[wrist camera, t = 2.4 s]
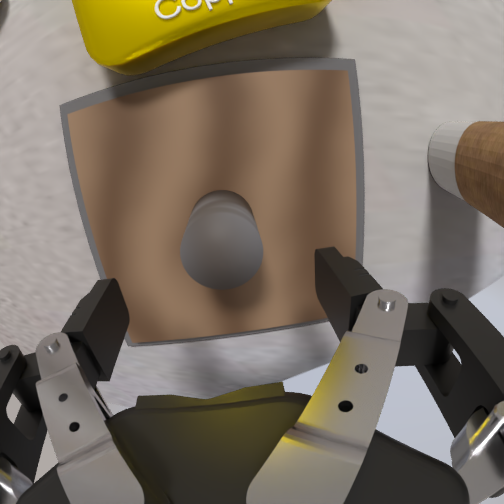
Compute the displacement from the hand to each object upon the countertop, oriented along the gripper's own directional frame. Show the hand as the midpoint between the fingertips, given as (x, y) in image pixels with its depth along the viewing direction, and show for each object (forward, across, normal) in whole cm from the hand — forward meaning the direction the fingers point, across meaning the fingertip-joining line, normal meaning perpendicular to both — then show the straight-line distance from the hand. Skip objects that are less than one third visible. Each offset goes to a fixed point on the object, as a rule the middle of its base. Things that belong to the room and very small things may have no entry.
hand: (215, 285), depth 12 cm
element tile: (+10, 0, -19) cm, 21 cm away
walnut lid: (+9, 0, 0) cm, 9 cm away
